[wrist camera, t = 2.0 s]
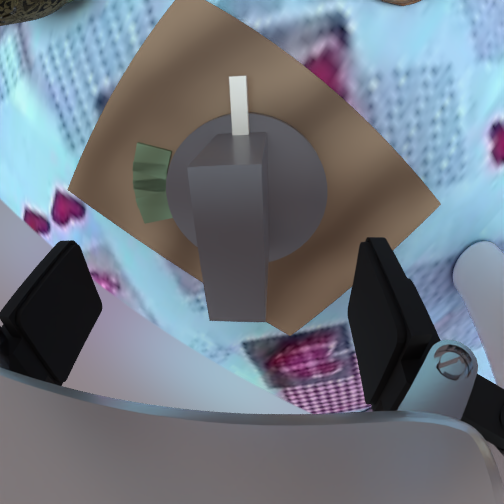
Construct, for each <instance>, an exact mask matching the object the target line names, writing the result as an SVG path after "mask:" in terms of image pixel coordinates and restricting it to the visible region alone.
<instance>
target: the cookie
mask: <svg viewBox="0 0 504 504" xmlns="http://www.w3.org/2000/svg"><path fill="white" fill-rule="evenodd" d="M382 1H385V2H388V3H393V4H397V5H401V6H405V5H409V4H413V3H416V2H419V1H421V0H382Z"/></svg>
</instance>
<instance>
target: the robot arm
mask: <svg viewBox="0 0 504 504" xmlns="http://www.w3.org/2000/svg"><path fill="white" fill-rule="evenodd" d="M101 311H102V302H101V299H100V297H99V295H98V292H97V290H96V287H95V285H94V282H93V280H92V277H91V275H90V272H89V269H88V267H87V264H86V261H85V259H84V256H83V253H82V250H81V248H80V246H79V245H77V243H76V242H75V241H60V242H58V243H57V244H56V245H55V246H54V248H53V249H52V250H51V251H50V252H49V253H48V254H47V255H46V256H45V258H44V259H43V260H42V261H41V262H40V263H39V265H38V266H37V267H36V268H35V269H34V270H33V272H32V273H31V274H30V275H29V276H28V278H27V279H26V280H25V281H24V282H23V284H22V285H21V286H20V287H19V288H18V290H17V291H16V292H15V293H14V295H13V296H12V297H11V299H10V300H9V301H8V303H7V304H6V305H5V306H4V308H3V309H2V310H1V312H0V319H1V321H2V322H3V326H2V327H1V326H0V504H504V389H503V388H501V387H499V386H497V385H496V384H494V383H492V382H491V381H489V380H487V379H485V378H484V377H482V376H480V375H478V374H477V371H478V364H477V359H476V357H475V356H474V354H473V352H472V351H471V350H470V349H469V348H468V347H467V346H465V345H464V344H462V343H460V342H457V341H454V340H443V341H440V339H439V336H438V334H437V332H436V329H435V327H434V325H433V323H432V321H431V318H430V316H429V314H428V312H427V310H426V308H425V306H424V304H423V302H422V300H421V298H420V295H419V293H418V291H417V289H416V287H415V286H414V284H413V282H412V281H411V279H408V278H407V277H406V275H405V273H404V271H403V269H402V267H401V265H400V264H399V262H398V260H397V258H396V256H395V254H394V252H393V250H392V249H391V247H390V245H389V243H388V241H387V240H386V238H384V237H367V238H366V241H365V242H361V243H360V246H359V251H358V257H357V263H356V269H355V275H354V280H353V285H352V290H351V295H350V300H349V305H348V319H349V324H350V328H351V332H352V337H353V342H354V346H355V351H356V356H357V360H358V365H359V370H360V375H361V381H362V386H363V391H364V397H365V401H366V404H371V405H372V409H369V410H367V411H365V412H350V413H333V414H240V413H223V412H222V413H221V412H209V411H199V410H189V409H180V408H172V407H163V406H156V405H150V404H143V403H137V402H131V401H125V400H120V399H115V398H110V397H105V396H100V395H95V394H91V393H87V392H83V391H78V390H74V389H70V388H66V387H63V386H62V383H63V382H65V381H66V380H67V378H68V376H69V374H70V372H71V369H72V368H73V365H74V363H75V361H76V359H77V357H78V355H79V353H80V351H81V349H82V347H83V345H84V343H85V341H86V340H87V338H88V336H89V334H90V332H91V330H92V328H93V326H94V324H95V322H96V321H97V319H98V317H99V315H100V313H101Z"/></svg>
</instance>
